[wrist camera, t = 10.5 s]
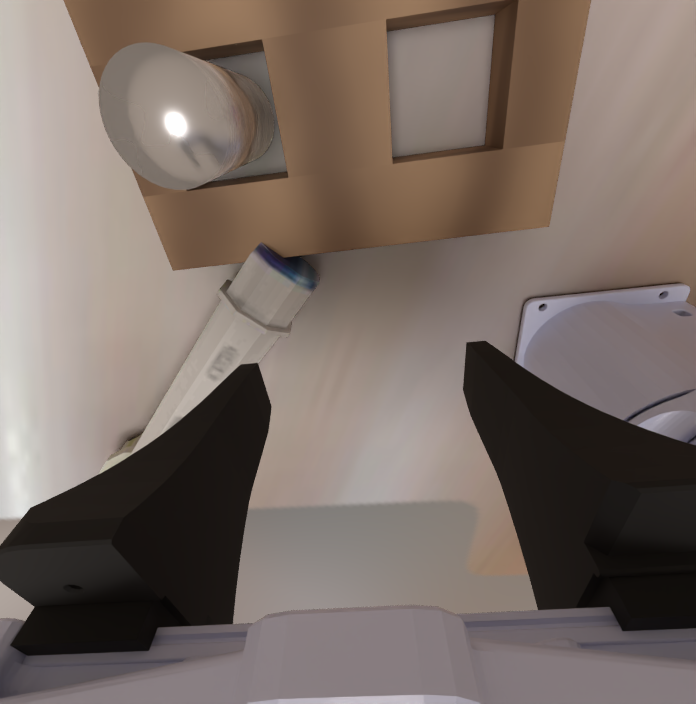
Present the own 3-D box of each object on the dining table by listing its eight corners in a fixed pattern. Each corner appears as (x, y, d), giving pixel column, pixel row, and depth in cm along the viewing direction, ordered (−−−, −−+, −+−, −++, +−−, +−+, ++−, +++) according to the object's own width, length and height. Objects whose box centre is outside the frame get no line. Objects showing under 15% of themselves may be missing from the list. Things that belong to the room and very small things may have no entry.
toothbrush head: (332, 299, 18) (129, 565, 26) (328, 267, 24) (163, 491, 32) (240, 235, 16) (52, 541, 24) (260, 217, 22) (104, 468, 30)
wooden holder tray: (579, -133, 13) (624, -180, 11) (527, 214, 19) (548, 226, 17) (82, -42, 14) (35, -69, 12) (190, 255, 21) (173, 270, 19)
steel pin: (264, 67, 16) (203, 32, 9) (281, 157, 18) (241, 182, 11) (186, 78, 16) (73, 53, 10) (212, 166, 18) (133, 196, 12)
